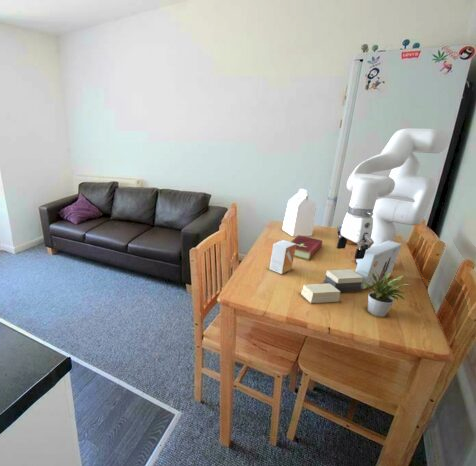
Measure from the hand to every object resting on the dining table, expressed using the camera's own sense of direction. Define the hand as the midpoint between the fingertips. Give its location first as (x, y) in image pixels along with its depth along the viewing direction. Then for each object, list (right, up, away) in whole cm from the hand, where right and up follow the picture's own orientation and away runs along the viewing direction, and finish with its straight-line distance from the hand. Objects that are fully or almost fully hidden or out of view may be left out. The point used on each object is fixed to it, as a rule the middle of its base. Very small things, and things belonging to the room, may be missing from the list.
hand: (349, 253), depth 121 cm
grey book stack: (+1, -15, +6) cm, 16 cm away
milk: (+15, +8, +64) cm, 66 cm away
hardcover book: (+5, -1, +41) cm, 41 cm away
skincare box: (+17, -13, +10) cm, 23 cm away
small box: (-16, -9, +22) cm, 29 cm away
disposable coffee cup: (+36, +2, +47) cm, 59 cm away
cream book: (+1, -11, +4) cm, 11 cm away
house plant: (+1, -21, -10) cm, 23 cm away
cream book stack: (-12, -17, 0) cm, 21 cm away
